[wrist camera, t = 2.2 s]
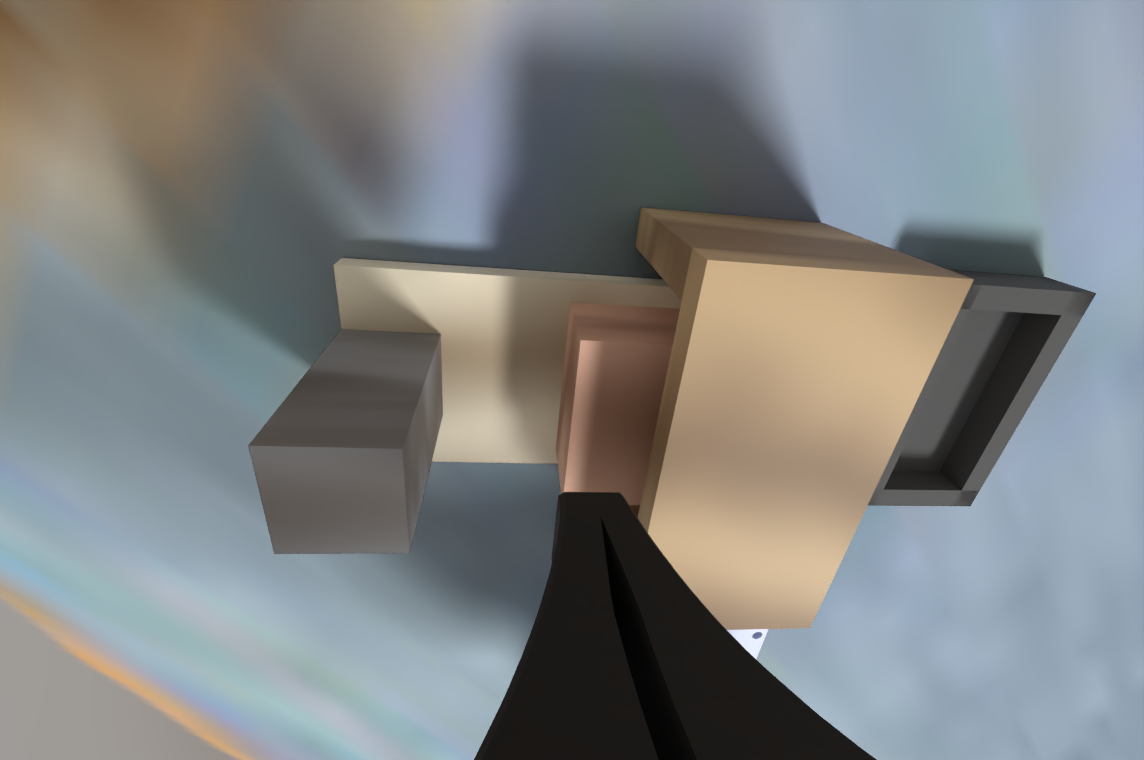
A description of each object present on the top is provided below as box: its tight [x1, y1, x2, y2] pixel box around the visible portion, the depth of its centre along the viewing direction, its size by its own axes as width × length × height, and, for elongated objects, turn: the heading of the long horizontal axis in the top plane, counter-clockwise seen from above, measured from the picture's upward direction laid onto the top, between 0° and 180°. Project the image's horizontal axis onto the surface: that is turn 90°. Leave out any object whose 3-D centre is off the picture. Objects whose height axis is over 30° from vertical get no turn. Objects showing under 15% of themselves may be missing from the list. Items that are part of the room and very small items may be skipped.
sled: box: [249, 258, 682, 554], centre depth 15 cm, size 7×18×7 cm, turn 85°
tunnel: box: [629, 207, 974, 630], centre depth 16 cm, size 11×6×6 cm, turn 175°
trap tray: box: [868, 270, 1096, 506], centre depth 19 cm, size 9×5×2 cm, turn 175°
